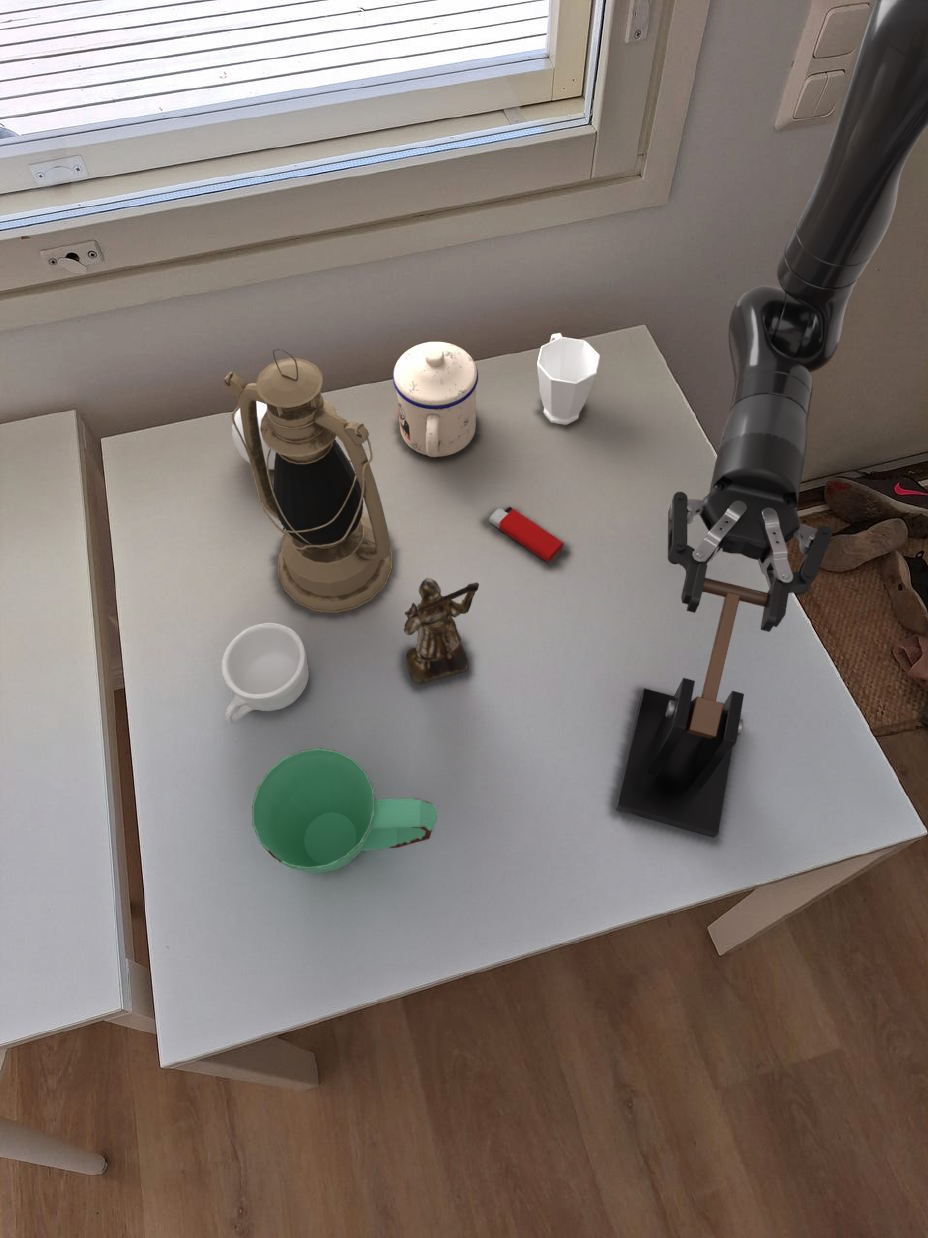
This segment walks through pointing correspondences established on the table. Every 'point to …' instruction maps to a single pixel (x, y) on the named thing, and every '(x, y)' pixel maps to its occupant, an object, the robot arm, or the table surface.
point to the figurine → (437, 632)
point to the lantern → (315, 488)
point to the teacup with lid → (436, 398)
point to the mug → (331, 813)
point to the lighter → (526, 533)
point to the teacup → (264, 669)
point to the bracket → (678, 762)
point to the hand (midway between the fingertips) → (730, 616)
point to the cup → (565, 377)
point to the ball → (240, 447)
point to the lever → (718, 656)
